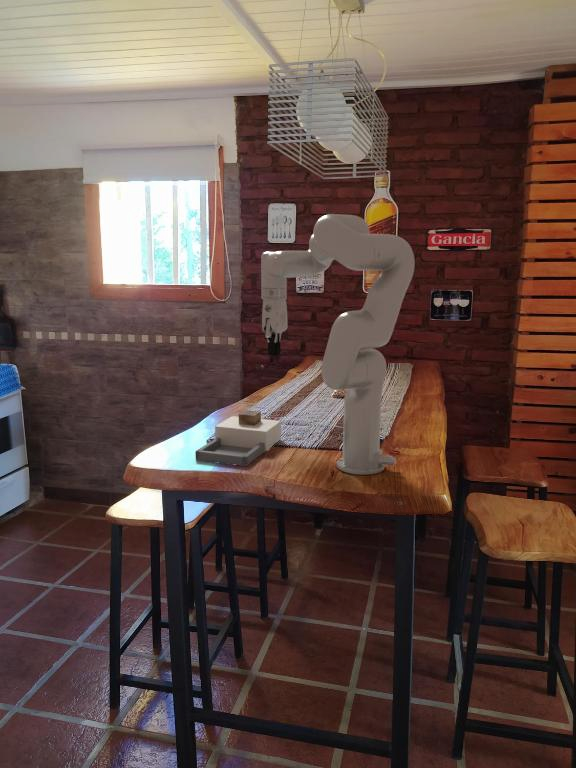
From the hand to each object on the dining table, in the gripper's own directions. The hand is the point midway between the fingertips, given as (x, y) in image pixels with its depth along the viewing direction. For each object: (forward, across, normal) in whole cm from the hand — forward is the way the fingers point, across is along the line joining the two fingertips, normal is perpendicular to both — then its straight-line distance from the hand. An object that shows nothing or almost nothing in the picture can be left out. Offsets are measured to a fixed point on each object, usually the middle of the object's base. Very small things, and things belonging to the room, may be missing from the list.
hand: (274, 354), depth 182 cm
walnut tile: (+19, -10, +4) cm, 22 cm away
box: (+25, -24, +4) cm, 35 cm away
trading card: (+26, +6, -14) cm, 30 cm away
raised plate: (+25, -11, +4) cm, 28 cm away
